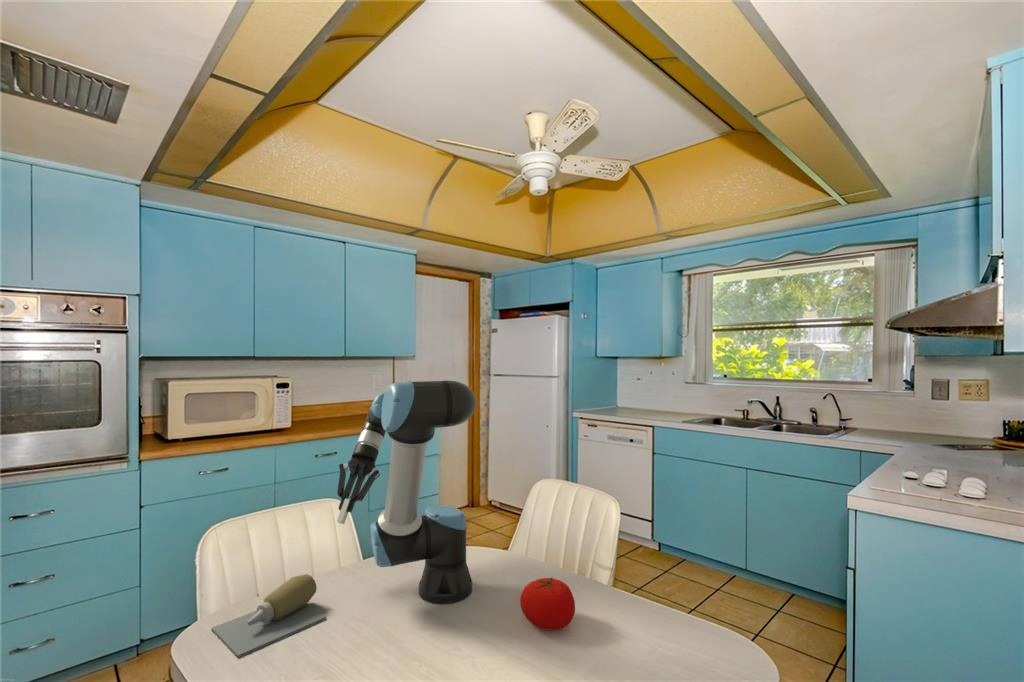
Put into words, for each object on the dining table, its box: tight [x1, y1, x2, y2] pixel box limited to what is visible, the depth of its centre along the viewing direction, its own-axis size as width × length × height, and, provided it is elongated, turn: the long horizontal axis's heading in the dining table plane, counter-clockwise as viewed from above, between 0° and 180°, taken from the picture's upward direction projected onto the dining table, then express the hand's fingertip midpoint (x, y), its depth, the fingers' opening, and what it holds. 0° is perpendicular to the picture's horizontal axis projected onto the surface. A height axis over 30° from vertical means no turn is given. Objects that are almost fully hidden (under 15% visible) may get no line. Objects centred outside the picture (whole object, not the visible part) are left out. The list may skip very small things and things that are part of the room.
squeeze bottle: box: [247, 573, 318, 626], centre depth 127 cm, size 8×8×18 cm
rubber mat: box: [211, 603, 327, 659], centre depth 125 cm, size 16×21×1 cm
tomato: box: [519, 576, 576, 631], centre depth 125 cm, size 14×13×10 cm
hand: (340, 522), depth 145 cm, fingers closed
